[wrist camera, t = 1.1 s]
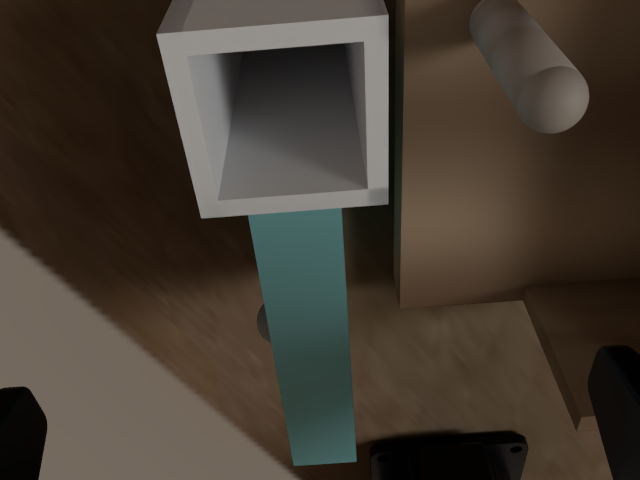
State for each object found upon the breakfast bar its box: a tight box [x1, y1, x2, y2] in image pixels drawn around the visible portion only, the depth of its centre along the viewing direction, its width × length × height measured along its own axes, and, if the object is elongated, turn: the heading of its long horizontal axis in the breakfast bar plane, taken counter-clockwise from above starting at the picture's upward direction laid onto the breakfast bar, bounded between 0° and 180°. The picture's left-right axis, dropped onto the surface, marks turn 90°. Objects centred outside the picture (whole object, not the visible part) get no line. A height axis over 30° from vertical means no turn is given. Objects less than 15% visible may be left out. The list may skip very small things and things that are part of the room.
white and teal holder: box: [156, 0, 389, 466], centre depth 13 cm, size 10×3×7 cm, turn 4°
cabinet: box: [394, 0, 640, 431], centre depth 14 cm, size 11×8×6 cm
